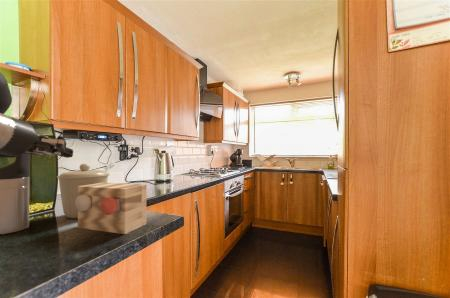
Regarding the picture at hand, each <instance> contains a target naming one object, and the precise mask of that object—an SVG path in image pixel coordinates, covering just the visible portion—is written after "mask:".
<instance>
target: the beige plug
mask: <svg viewBox="0 0 450 298" xmlns="http://www.w3.org/2000/svg"><path fill="white" fill-rule="evenodd" d="M75 205H76V208H77V209H78V210H79V211H85V210H88V209H89V208H91V206H92V196H88V195H86V194H84V195H79V196H78V197H77V198H76V200H75Z"/></svg>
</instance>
